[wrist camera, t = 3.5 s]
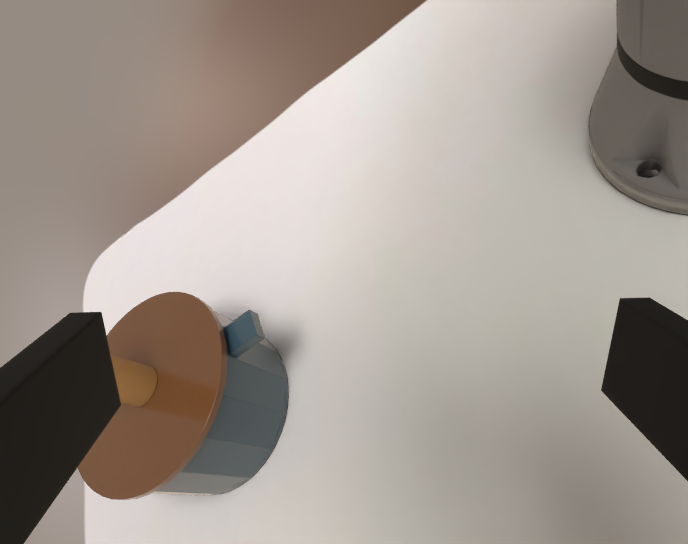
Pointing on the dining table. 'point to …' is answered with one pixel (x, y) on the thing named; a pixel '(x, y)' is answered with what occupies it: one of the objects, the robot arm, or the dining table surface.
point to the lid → (158, 395)
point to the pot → (239, 414)
